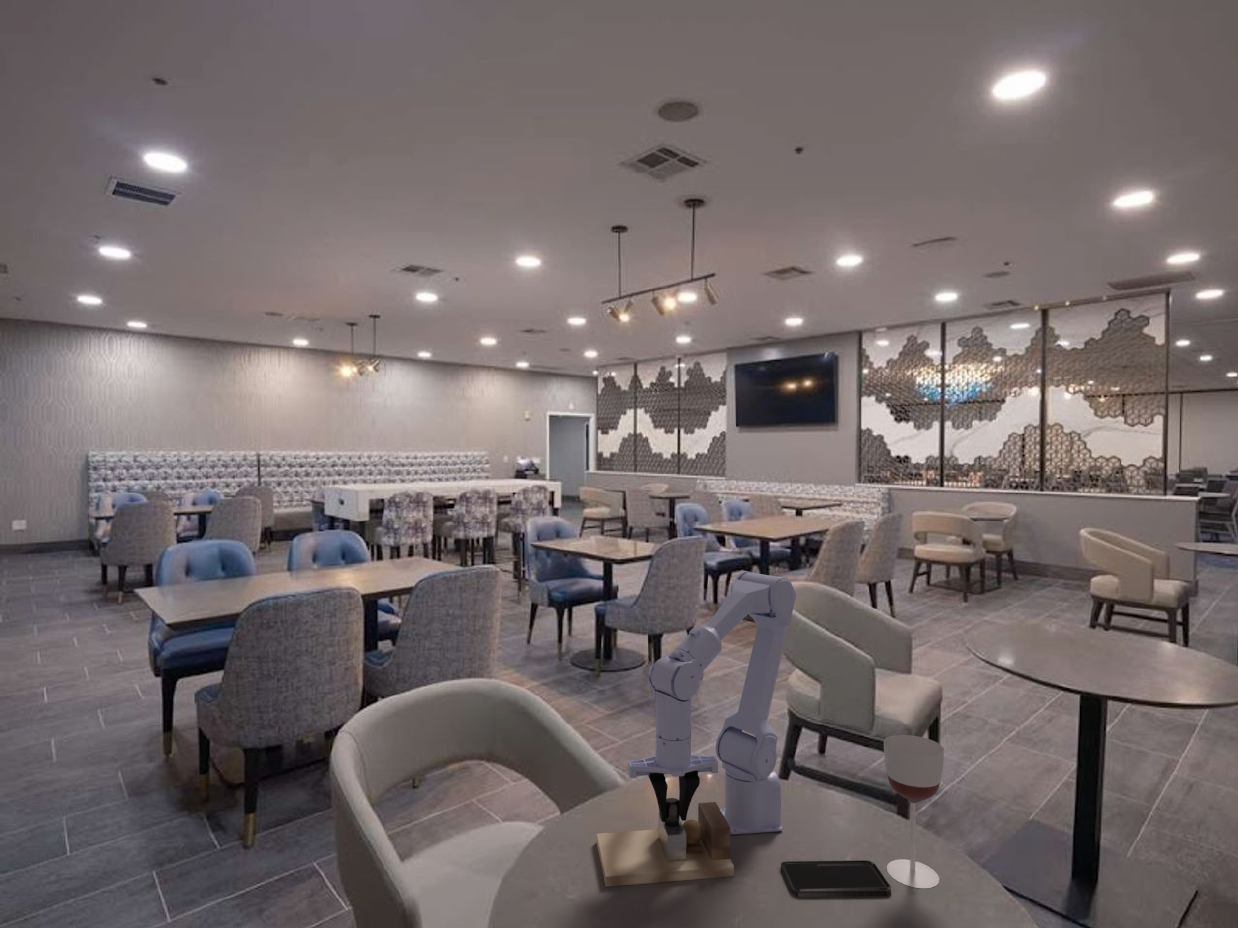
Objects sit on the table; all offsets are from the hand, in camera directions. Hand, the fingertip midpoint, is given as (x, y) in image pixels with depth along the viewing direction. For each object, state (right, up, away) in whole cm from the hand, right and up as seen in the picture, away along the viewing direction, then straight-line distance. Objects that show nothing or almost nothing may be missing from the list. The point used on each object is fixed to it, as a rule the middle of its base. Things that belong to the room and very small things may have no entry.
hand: (672, 818), depth 108 cm
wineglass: (+37, -7, -4) cm, 38 cm away
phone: (+24, -7, -6) cm, 26 cm away
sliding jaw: (0, -5, 0) cm, 5 cm away
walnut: (+3, -3, 0) cm, 4 cm away
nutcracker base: (-2, -6, 0) cm, 7 cm away
